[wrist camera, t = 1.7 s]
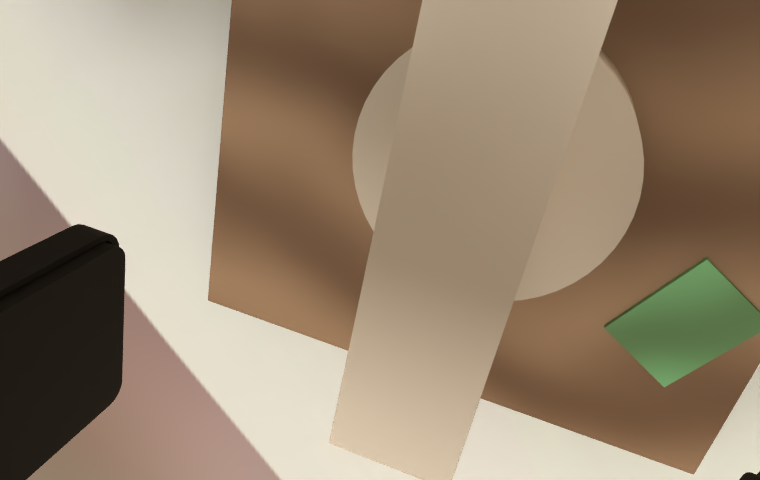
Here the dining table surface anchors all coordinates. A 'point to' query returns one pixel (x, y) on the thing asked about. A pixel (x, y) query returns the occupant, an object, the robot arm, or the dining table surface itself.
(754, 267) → the dial board
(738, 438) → the dining table surface
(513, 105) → the dial knob
